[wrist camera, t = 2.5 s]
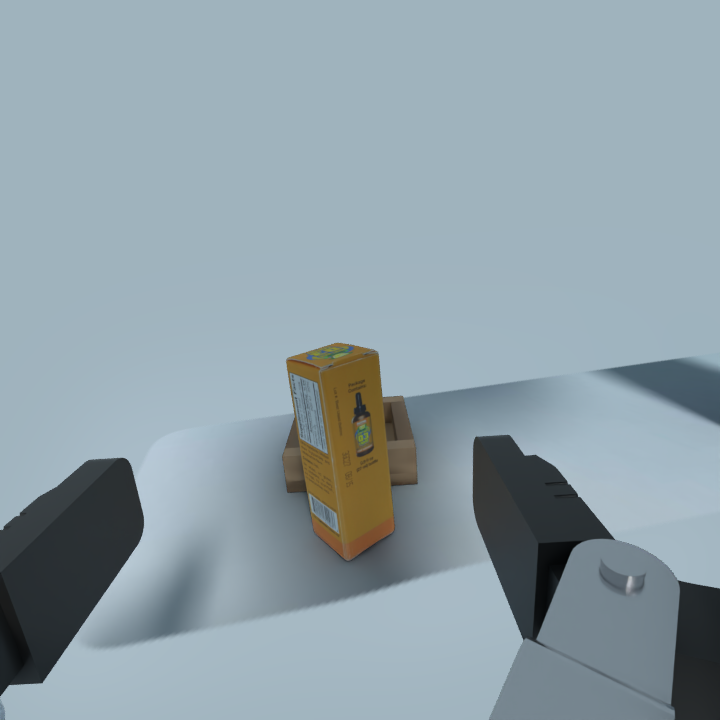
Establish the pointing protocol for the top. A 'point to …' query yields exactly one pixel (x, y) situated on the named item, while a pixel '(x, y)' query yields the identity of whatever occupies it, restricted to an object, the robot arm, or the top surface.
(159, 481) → the top surface
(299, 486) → the tray
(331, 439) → the supplement box
